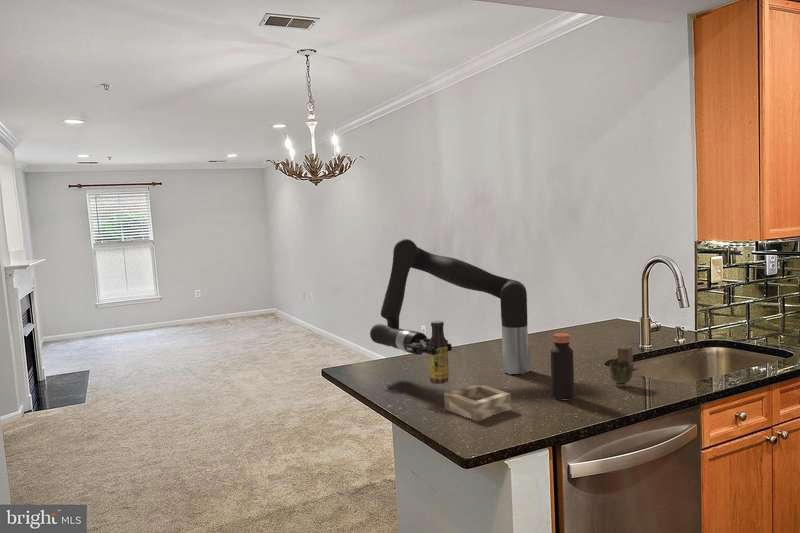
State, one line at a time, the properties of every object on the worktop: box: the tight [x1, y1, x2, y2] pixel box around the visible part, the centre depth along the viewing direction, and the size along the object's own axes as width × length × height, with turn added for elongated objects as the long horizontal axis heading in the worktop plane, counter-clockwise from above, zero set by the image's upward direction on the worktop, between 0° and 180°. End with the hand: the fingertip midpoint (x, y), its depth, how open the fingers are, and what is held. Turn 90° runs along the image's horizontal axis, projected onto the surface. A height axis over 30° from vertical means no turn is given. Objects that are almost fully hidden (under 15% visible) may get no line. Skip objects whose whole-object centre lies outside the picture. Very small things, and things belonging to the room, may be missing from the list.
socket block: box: [443, 383, 512, 422], centre depth 176 cm, size 14×14×5 cm
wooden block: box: [617, 345, 634, 364], centre depth 211 cm, size 4×4×8 cm
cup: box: [608, 359, 634, 388], centre depth 191 cm, size 8×7×8 cm
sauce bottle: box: [428, 320, 450, 385], centre depth 189 cm, size 6×6×20 cm
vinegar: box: [550, 332, 575, 400], centre depth 183 cm, size 7×7×20 cm
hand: (442, 349), depth 187 cm, fingers closed on sauce bottle, 6 cm apart
